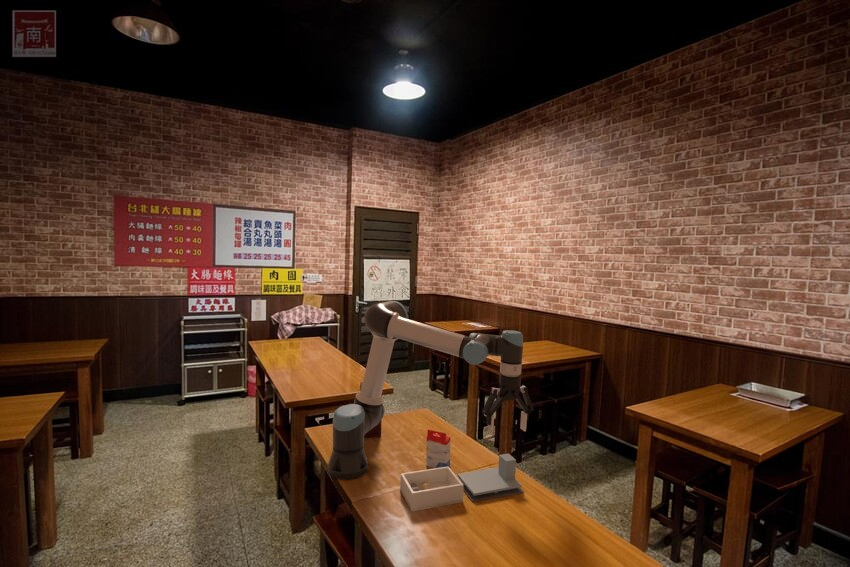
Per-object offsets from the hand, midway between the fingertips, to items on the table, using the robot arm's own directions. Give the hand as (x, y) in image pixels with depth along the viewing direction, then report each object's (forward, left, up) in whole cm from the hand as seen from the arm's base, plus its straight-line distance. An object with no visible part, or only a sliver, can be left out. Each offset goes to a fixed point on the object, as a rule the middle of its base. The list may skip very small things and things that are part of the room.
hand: (506, 431), depth 151 cm
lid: (-7, 0, -19) cm, 20 cm away
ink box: (-19, +19, -19) cm, 33 cm away
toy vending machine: (-38, +57, -19) cm, 71 cm away
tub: (-29, 0, -19) cm, 35 cm away
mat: (-7, 0, -19) cm, 20 cm away
